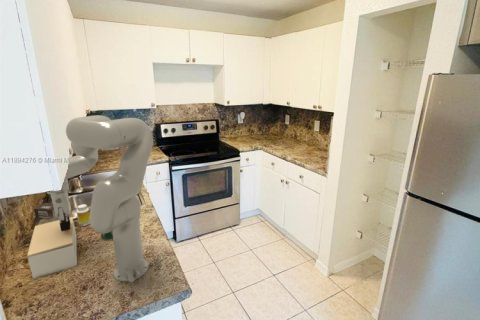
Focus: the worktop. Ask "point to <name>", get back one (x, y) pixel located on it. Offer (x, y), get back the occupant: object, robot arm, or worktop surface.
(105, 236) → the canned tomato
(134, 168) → the robot arm
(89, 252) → the worktop surface
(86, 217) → the supplement bottle
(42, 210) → the coffee box
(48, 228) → the lid flap
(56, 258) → the carton
